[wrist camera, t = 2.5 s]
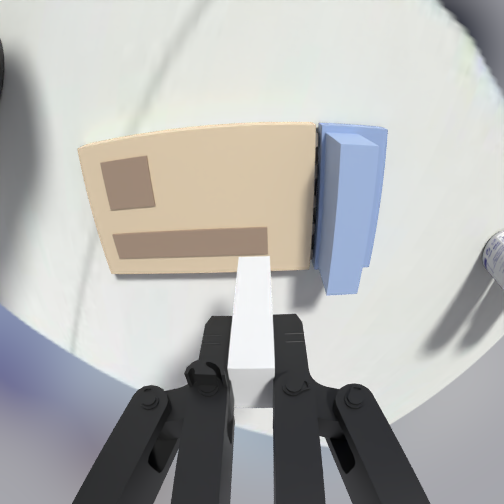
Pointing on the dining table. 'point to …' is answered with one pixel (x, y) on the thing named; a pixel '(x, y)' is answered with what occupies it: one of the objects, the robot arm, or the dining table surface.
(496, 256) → the energy drink
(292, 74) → the dining table surface
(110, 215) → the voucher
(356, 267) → the light blue stepped block
